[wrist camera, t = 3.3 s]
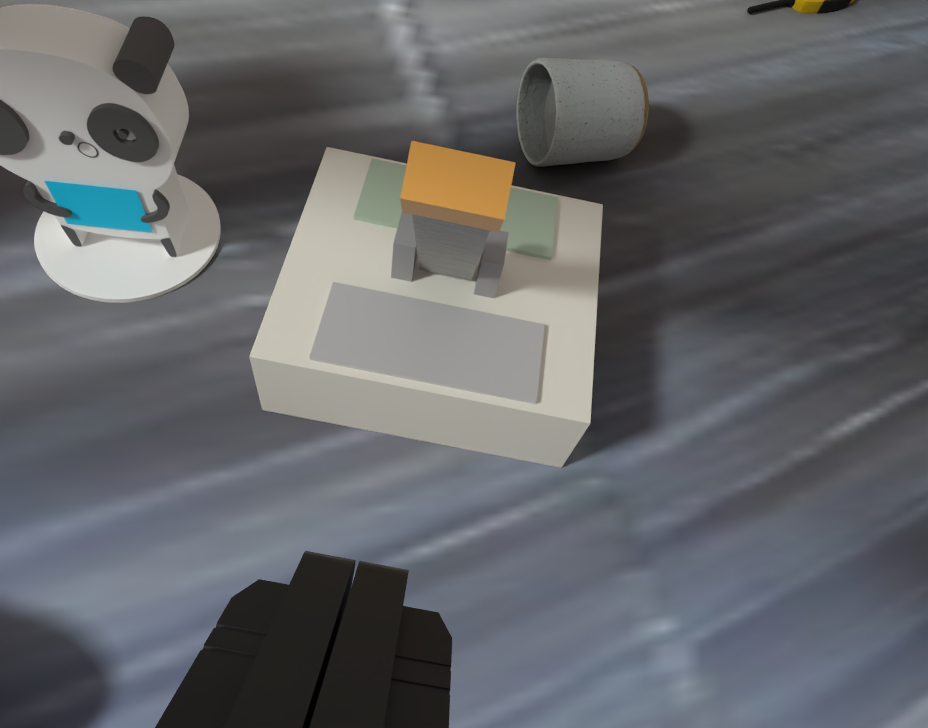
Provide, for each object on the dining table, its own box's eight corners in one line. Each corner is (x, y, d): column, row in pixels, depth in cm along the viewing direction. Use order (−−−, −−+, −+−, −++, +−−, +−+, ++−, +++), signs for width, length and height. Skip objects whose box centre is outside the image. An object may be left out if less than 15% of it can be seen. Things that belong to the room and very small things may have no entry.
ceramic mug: (633, 177, 56) (669, 95, 49) (538, 188, 54) (563, 104, 47) (584, 91, 61) (611, 6, 54) (495, 98, 59) (513, 11, 52)
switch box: (561, 467, 42) (608, 396, 34) (262, 409, 41) (241, 323, 33) (577, 263, 50) (617, 169, 43) (329, 212, 49) (325, 107, 42)
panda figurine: (-3, 290, 43) (-153, 80, 30) (59, 160, 49) (-44, -62, 36) (199, 311, 44) (136, 118, 31) (236, 181, 50) (196, -26, 37)
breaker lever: (474, 286, 40) (504, 219, 24) (413, 273, 40) (400, 198, 24) (481, 252, 40) (515, 162, 24) (420, 239, 40) (411, 140, 24)
